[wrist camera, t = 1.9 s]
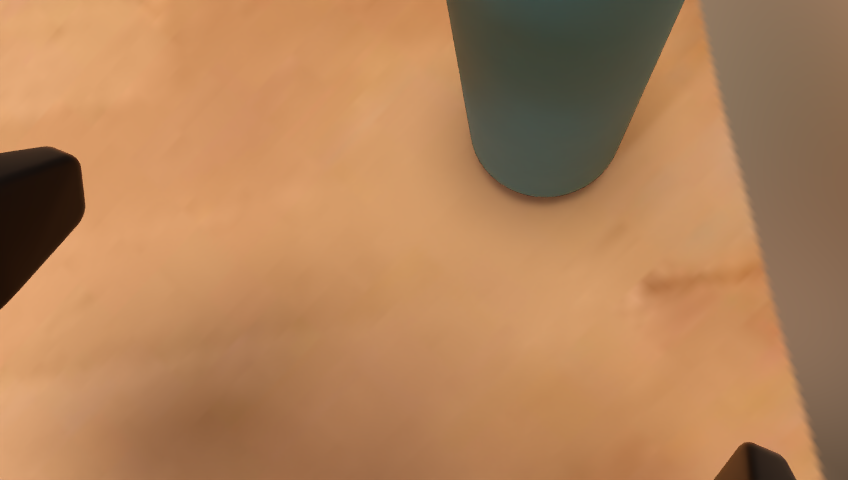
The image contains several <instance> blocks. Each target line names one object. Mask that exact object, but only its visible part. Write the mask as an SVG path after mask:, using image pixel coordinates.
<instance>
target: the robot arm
mask: <svg viewBox="0 0 848 480" xmlns="http://www.w3.org/2000/svg"><path fill="white" fill-rule="evenodd" d="M84 211H85V198H84V189H83V181H82V172H81V166H80V163H79V161H78V160H77V158H75V157H74V156H72V155H70V154H68V153H65V152H63V151H61V150H58V149H56V148H53V147H47V146H46V147H38V148H31V149H25V150H18V151H11V152H5V153H0V309H1V308H3V307H4V306H5V305H6V304H7V303H8V302H9V301H10V299H11V298H12V297H13V296H14V295H15V294H16V293H17V292H18V291H19V290H20V289H21V288H22V287H23V285H24V284H25V283H26V282H27V281H28V280H29V279H30V278H31V277H32V275H33V274H34V273H35V272H36V271H37V270H38V269H39V268H40V266H41V265H42V264H43V263H44V262H45V261H46V260H47V259H48V257H49V256H50V255H51V254H52V253H53V252H54V251H55V250H56V249H57V247H58V246H59V245H60V244H61V243H62V242H63V241H64V240H65V238H66V237H67V236H68V235H69V234H70V233H71V232H72V231H73V229H74V228H75V227H76V226H77V225H78V224H79V222H80V221H81V219H82V217H83V215H84ZM714 480H796V478H795V477H794V475H793V473H792V471H791V469H790V467H789V465H788V463H787V462H786V460H785V459H784V458H783V457H782V456H781V455H779V454H778V453H775V452H773V451H771V450H768V449H766V448H764V447H761V446H759V445H756V444H754V443H751V442H746V443H743V444H742V445H740V446H739V447H738V448H737V450H736V451H735V452H734V454H733V455H732V456H731V458H730V459H729V460H728V462H727V463H726V464H725V466H724V467H723V468H722V470H721V471H720V472H719V474H718V475H717V476H716V477H715V479H714Z"/></svg>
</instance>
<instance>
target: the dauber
mask: <svg viewBox="0 0 848 480" xmlns="http://www.w3.org/2000/svg"><path fill="white" fill-rule="evenodd" d="M446 1H447V6H448V12H449V18H450V23H451V29H452V34H453V40H454V45H455V51H456V57H457V62H458V68H459V73H460V79H461V84H462V90H463V96H464V101H465V107H466V112H467V118H468V123H469V129H470V135H471V140H472V144H473V147H474V150H475V153H476V155H477V157H478V159H479V161H480V162H481V164H482V165H483V167H484V168H485V170H486V171H487V172H488V173H489V174H490V175H491V176H492V177H493V178H494V179H496V180H497V181H498V182H499V183H501V184H502V185H504V186H506V187H507V188H509V189H511V190H514V191H516V192H519V193H522V194H525V195H530V196H535V197H554V196H560V195H565V194H569V193H572V192H574V191H577V190H579V189H581V188H583V187H585V186H587V185H588V184H590V183H591V182H593V181H594V180H595V179H596V178H597V177H599V176H600V175H601V174H602V173H603V171H604V170H605V169H606V168H607V167H608V165H609V164H610V162H611V161H612V159H613V158H614V155H615V153H616V151H617V149H618V147H619V145H620V143H621V140H622V138H623V136H624V134H625V131H626V129H627V127H628V125H629V123H630V120H631V118H632V116H633V114H634V112H635V109H636V107H637V105H638V103H639V100H640V98H641V96H642V94H643V92H644V89H645V87H646V85H647V83H648V80H649V78H650V76H651V74H652V72H653V69H654V67H655V65H656V63H657V60H658V58H659V56H660V54H661V52H662V49H663V47H664V45H665V43H666V41H667V38H668V36H669V34H670V32H671V29H672V27H673V25H674V23H675V21H676V18H677V16H678V14H679V12H680V9H681V7H682V5H683V3H684V1H685V0H446Z"/></svg>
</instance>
